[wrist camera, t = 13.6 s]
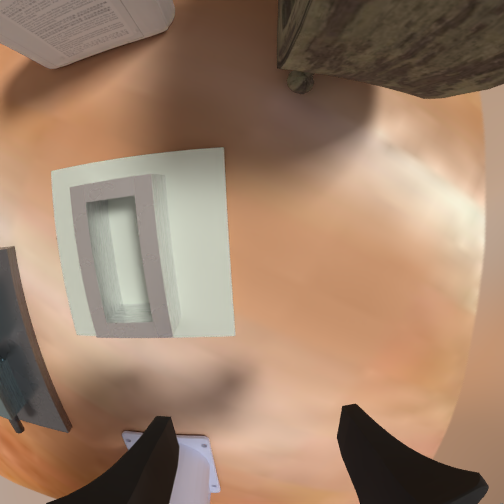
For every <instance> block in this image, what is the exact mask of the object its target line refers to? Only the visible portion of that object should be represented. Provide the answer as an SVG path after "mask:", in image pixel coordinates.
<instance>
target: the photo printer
mask: <svg viewBox="0 0 504 504" xmlns="http://www.w3.org/2000/svg"><path fill="white" fill-rule="evenodd" d="M174 16H175V6H174V3H173V0H0V43H1V44H3V45H5V46H7V47H9V48H11V49H13V50H15V51H17V52H19V53H20V54H22V55H24V56H26V57H28V58H30V59H32V60H33V61H35V62H37V63H39V64H41V65H42V66H44V67H46V68H49V69H56V68H59V67H63V66H66V65H69V64H71V63H74V62H76V61H79V60H82V59H84V58H87V57H89V56H92V55H95V54H98V53H101V52H103V51H106V50H109V49H112V48H115V47H118V46H121V45H124V44H127V43H131V42H134V41H137V40H140V39H144V38H147V37H150V36H153V35H156V34H159V33H162V32H164V31H166V30H167V29H168V26H169V25H170V24H171V23H172V21H173V19H174Z"/></svg>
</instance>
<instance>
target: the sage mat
mask: <svg viewBox="0 0 504 504" xmlns="http://www.w3.org/2000/svg"><path fill="white" fill-rule="evenodd" d="M145 174H160V175H165V180H166V192H167V203H168V214H169V224H170V233H171V242H172V250H173V258H174V266H175V273H176V281H177V288H178V294H179V301H180V307H181V314H182V317H181V319H180V322H179V324H178V327H177V329H176V331H175V334H174V336H173V337H168V338H181V337H221V336H235V322H234V308H233V294H232V280H231V265H230V250H229V233H228V216H227V198H226V179H225V158H224V147H219V148H205V149H193V150H182V151H173V152H164V153H155V154H147V155H139V156H132V157H125V158H119V159H112V160H106V161H100V162H94V163H89V164H83V165H78V166H73V167H68V168H63V169H59V170H54V171H51V177H52V194H53V207H54V217H55V226H56V234H57V242H58V249H59V255H60V261H61V267H62V273H63V278H64V283H65V288H66V293H67V297H68V302H69V306H70V310H71V314H72V318H73V322H74V326H75V330H76V333H77V335H86V336H96V333H95V329H94V326H93V322H92V318H91V314H90V310H89V306H88V302H87V297H86V293H85V288H84V284H83V279H82V274H81V269H80V263H79V258H78V252H77V246H76V239H75V232H74V225H73V217H72V208H71V198H70V187H74V186H79V185H84V184H89V183H95V182H100V181H106V180H112V179H118V178H125V177H131V176H138V175H145ZM107 202H108V211H109V220H110V228H111V236H112V243H113V250H114V256H115V262H116V268H117V274H118V280H119V285H120V290H121V295H122V300H123V304H142V303H149V297H148V292H147V286H146V280H145V274H144V267H143V261H142V254H141V247H140V239H139V231H138V223H137V214H136V204H135V195H134V196H127V197H119V198H113V199H107Z"/></svg>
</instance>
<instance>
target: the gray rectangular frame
mask: <svg viewBox="0 0 504 504" xmlns="http://www.w3.org/2000/svg"><path fill="white" fill-rule="evenodd" d="M134 195H135V204H136V214H137V223H138V231H139V239H140V247H141V254H142V261H143V267H144V274H145V280H146V286H147V292H148V297H149V303H142V304H123V300H122V295H121V290H120V285H119V280H118V274H117V268H116V262H115V256H114V250H113V243H112V236H111V228H110V220H109V211H108V202H107V199H113V198H119V197H127V196H134ZM70 198H71V208H72V217H73V225H74V232H75V239H76V246H77V252H78V258H79V263H80V269H81V274H82V279H83V284H84V288H85V293H86V297H87V302H88V306H89V310H90V314H91V318H92V322H93V326H94V329H95V333H96V337H100V338H168V337H173V336H174V334H175V331H176V329H177V327H178V324H179V322H180V319H181V317H182V314H181V307H180V301H179V294H178V288H177V281H176V273H175V266H174V258H173V250H172V242H171V233H170V224H169V214H168V203H167V192H166V180H165V175H160V174H145V175H138V176H131V177H125V178H118V179H112V180H106V181H100V182H95V183H89V184H84V185H79V186H74V187H70Z"/></svg>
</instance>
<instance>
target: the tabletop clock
mask: <svg viewBox="0 0 504 504" xmlns="http://www.w3.org/2000/svg"><path fill="white" fill-rule="evenodd" d="M277 68H279V69H286V70H294V71H292V72H290V73H289V76H288V78H287V83H288V87H289V88H290V89H291V90H292V91H293V92H296V93H300V94H304V93H306V92H308V91H310V90H311V89H312V87H313V84H314V80H313V76H312V75H313V74H315V73H317V74H323V75H329V76H335V77H340V78H345V79H350V80H355V81H360V82H364V83H369V84H373V85H377V86H381V87H385V88H389V89H393V90H396V91H400V92H404V93H407V94H410V95H414V96H417V97H420V98H423V99H435V98H446V97H451V96H455V95H460V94H465V93H471V92H476V91H482V90H487V89H490V88H493V87H496V86H498V85H502V84H504V0H278V27H277Z"/></svg>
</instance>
